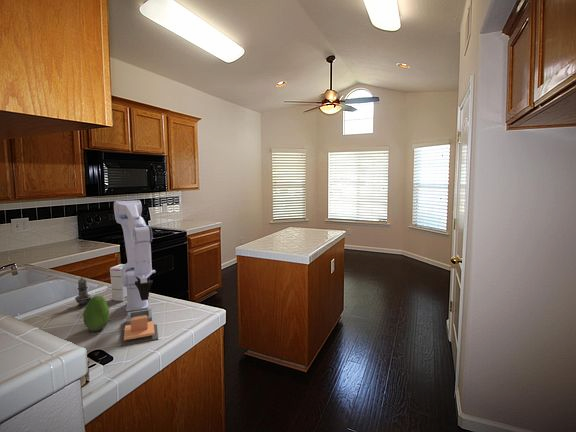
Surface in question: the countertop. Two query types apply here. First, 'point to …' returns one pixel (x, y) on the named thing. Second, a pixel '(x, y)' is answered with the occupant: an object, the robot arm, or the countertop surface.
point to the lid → (139, 328)
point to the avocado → (96, 313)
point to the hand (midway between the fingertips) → (144, 296)
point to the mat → (139, 340)
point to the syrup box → (117, 284)
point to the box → (139, 313)
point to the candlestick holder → (82, 294)
